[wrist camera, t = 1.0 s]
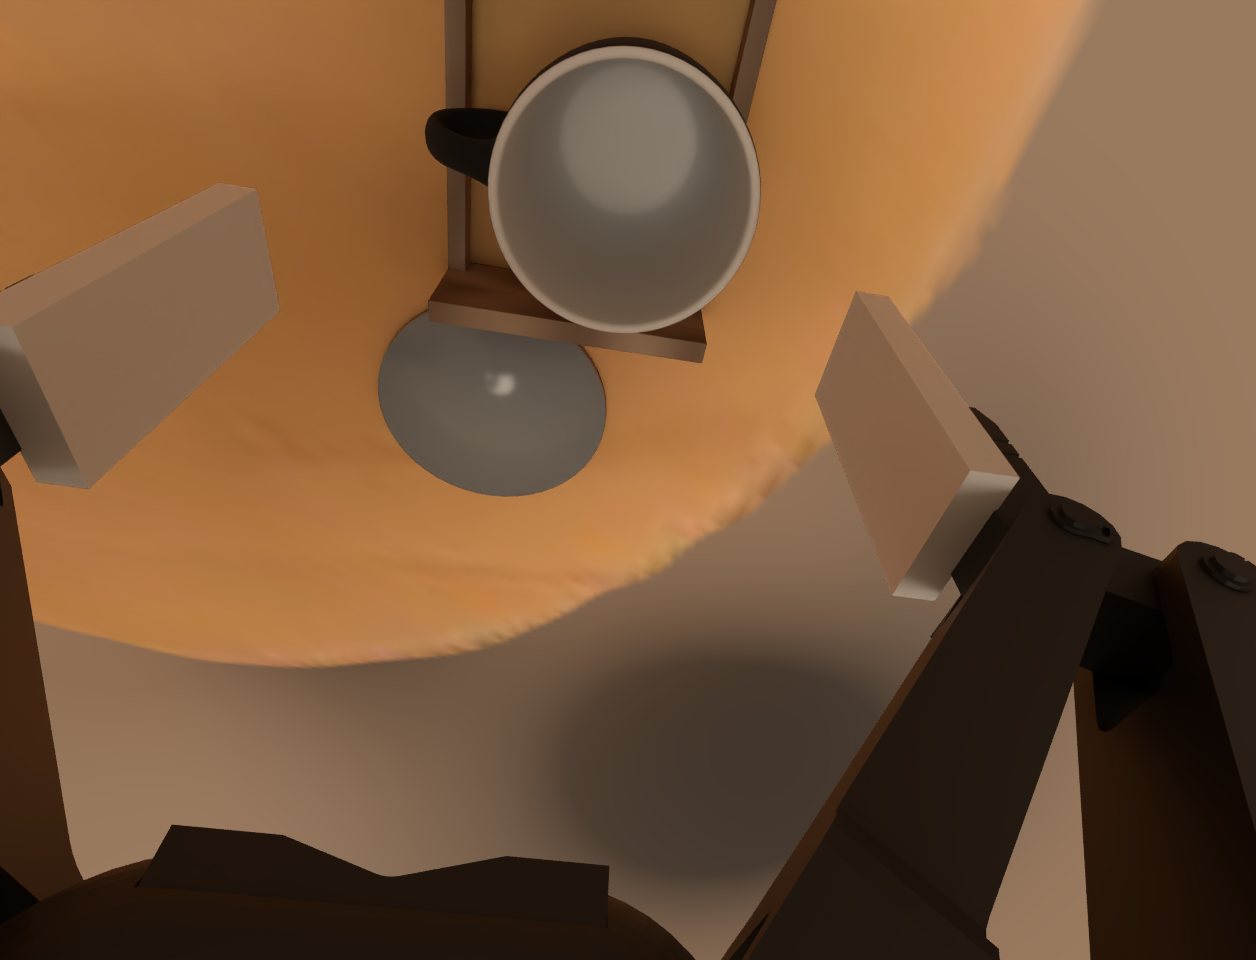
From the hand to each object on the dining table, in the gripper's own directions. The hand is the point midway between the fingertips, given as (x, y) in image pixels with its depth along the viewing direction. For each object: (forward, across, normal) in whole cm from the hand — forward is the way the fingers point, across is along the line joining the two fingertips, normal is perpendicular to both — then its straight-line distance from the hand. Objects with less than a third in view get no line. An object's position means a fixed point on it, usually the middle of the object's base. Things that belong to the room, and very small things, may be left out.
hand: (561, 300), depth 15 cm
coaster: (+18, -4, -15) cm, 24 cm away
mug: (+18, 0, 0) cm, 18 cm away
